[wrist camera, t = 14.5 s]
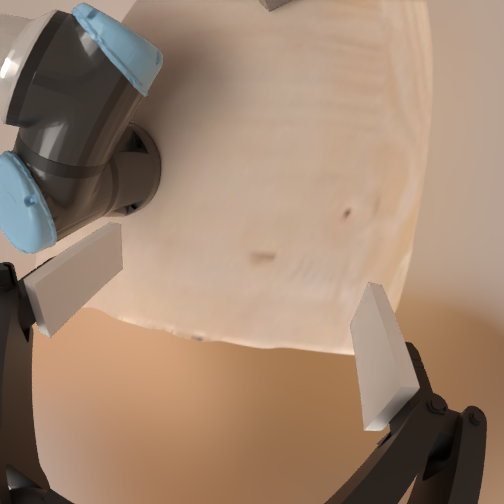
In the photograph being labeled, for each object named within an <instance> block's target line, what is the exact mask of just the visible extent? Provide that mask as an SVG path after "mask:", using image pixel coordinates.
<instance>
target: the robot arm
mask: <svg viewBox="0 0 504 504" xmlns="http://www.w3.org/2000/svg"><path fill="white" fill-rule="evenodd" d="M162 65H163V55H162V53H161V51H160V50H159V49H158V48H157V47H156V46H155V45H153V44H152V43H150V42H149V41H148V40H146V39H145V38H143V37H142V36H140V35H139V34H137V33H136V32H134V31H133V30H131V29H130V28H128V27H127V26H125V25H123V24H122V23H120V22H118V21H117V20H115V19H113V18H112V17H110V16H108V15H106V14H105V13H103V12H101V11H99V10H97V9H95V8H93V7H92V6H90V5H88V4H86V3H81V4H79V5H78V6H77V7H75V8H73V10H72V14H69V13H65V12H62V11H59V10H53V11H51V12H49V13H47V14H45V15H43V16H41V17H39V18H37V19H34V20H31V19H27V18H22V17H18V16H13V15H7V14H2V13H0V118H1V120H2V122H3V124H7V125H13V126H18V127H20V128H19V132H18V135H17V138H16V142H15V145H14V148H13V150H12V151H5V152H3V153H2V154H1V155H0V228H1V230H2V232H3V233H4V235H5V236H6V238H7V239H8V240H9V241H10V243H11V244H12V245H13V246H14V247H15V248H17V249H18V250H20V251H21V252H24V253H31V254H34V253H37V252H39V251H41V250H44V249H46V248H48V247H52V246H54V245H55V243H56V242H58V241H59V240H61V239H63V238H64V237H66V236H68V235H70V234H71V233H73V232H75V231H77V230H78V229H80V228H82V227H84V226H85V225H87V224H89V223H91V222H93V221H95V220H96V219H98V218H100V217H122V216H127V215H130V214H132V213H134V212H136V211H138V210H140V209H141V208H143V207H144V206H145V205H147V204H148V203H149V201H150V200H151V199H152V198H153V196H154V194H155V192H156V190H157V187H158V184H159V180H160V172H161V166H160V158H159V154H158V150H157V148H156V146H155V143H154V142H153V140H152V139H151V137H150V136H149V135H148V134H147V132H145V131H144V130H143V129H142V128H140V127H139V126H137V125H134V124H131V123H129V122H130V120H131V118H132V117H133V115H134V113H135V112H136V110H137V108H138V107H139V105H140V103H141V102H142V100H143V99H144V97H146V96H147V95H148V90H149V88H150V86H151V85H152V83H153V81H154V79H155V78H156V76H157V74H158V73H159V71H160V70H161V68H162ZM122 269H123V263H122V237H121V224H116V223H112V222H110V223H108V224H106V225H105V226H103V227H101V228H100V229H98V230H96V231H95V232H93V233H91V234H90V235H88V236H87V237H85V238H83V239H82V240H80V241H79V242H77V243H76V244H74V245H72V246H71V247H69V248H68V249H66V250H65V251H63V252H62V253H60V254H59V255H57V256H55V257H52V258H50V259H48V260H47V261H45V262H44V263H43V264H42V265H40V266H38V267H37V269H36V268H35V269H34V270H33V271H31V272H30V273H29V274H27V275H26V276H24V277H23V278H21V279H20V280H19V281H18V280H17V276H16V272H15V268H14V265H13V264H12V263H10V262H3V263H0V504H74V503H72V502H71V501H69V500H67V499H66V498H64V497H63V496H61V495H59V494H58V493H56V492H55V491H53V490H52V489H50V486H49V482H48V480H47V478H46V475H45V474H44V472H43V470H42V468H41V467H40V463H39V458H38V453H37V445H36V438H35V430H34V419H33V408H32V407H33V405H32V346H33V328H32V325H33V324H34V323H35V322H36V323H37V326H38V329H39V331H40V332H41V333H42V334H44V335H46V336H48V337H49V338H51V337H52V336H53V335H54V334H55V333H56V332H57V331H58V330H59V329H60V328H61V327H62V326H63V325H64V324H65V323H66V322H67V321H68V320H69V319H70V318H71V317H72V316H73V315H74V314H75V313H76V312H77V311H78V310H79V309H80V308H81V307H82V306H83V305H84V304H85V303H86V302H87V301H88V300H89V299H91V298H92V297H93V296H94V295H95V294H96V293H97V292H98V291H99V290H100V289H101V288H102V287H103V286H104V285H105V284H107V283H108V282H109V281H110V280H111V279H112V278H113V277H114V276H115V275H116V274H118V273H119V272H120V271H121V270H122ZM350 328H351V334H352V340H353V346H354V352H355V358H356V365H357V371H358V379H359V386H360V394H361V403H362V412H363V422H364V430H371V431H382V430H383V429H384V428H385V426H387V425H388V423H389V424H390V432H389V433H388V434H387V435H386V436H385V437H384V438H383V439H382V440H381V441H379V442H378V443H377V444H378V446H377V448H376V449H375V450H374V452H372V454H371V455H370V456H369V457H368V458H367V460H366V461H365V462H364V463H363V464H362V466H360V468H359V469H358V470H357V471H356V472H355V473H354V474H353V475H352V476H351V478H350V479H349V480H348V481H347V482H346V483H345V484H344V485H343V486H342V487H341V488H340V489H339V490H338V491H337V492H336V493H335V494H334V495H333V496H332V497H331V498H330V499H329V500H328V501H326V503H324V504H398V502H399V501H400V499H401V498H402V497H403V495H404V493H405V492H406V491H407V489H408V488H409V486H410V485H411V483H412V482H413V480H414V478H415V477H416V475H417V477H416V480H415V483H414V486H413V489H412V492H411V495H410V497H409V500H408V502H407V504H478V499H479V494H480V489H481V483H482V476H483V468H484V460H485V449H486V431H487V421H486V417H485V415H484V413H483V412H482V411H481V410H480V409H479V408H478V407H476V406H468V407H467V408H466V409H465V410H464V411H463V412H462V413H459V412H456V411H453V410H450V409H448V405H447V403H446V402H445V400H444V399H443V398H442V397H441V396H439V395H437V394H435V393H433V391H432V388H431V385H430V382H429V379H428V377H427V374H426V371H425V369H424V366H423V363H422V362H421V357H420V355H419V352H418V350H417V349H416V348H415V347H414V345H413V344H412V343H409V342H405V341H404V339H403V336H402V333H401V331H400V328H399V325H398V323H397V320H396V318H395V315H394V313H393V310H392V308H391V305H390V303H389V300H388V298H387V296H386V293H385V291H384V289H383V286H382V285H379V284H375V283H370V282H368V285H367V287H366V290H365V292H364V294H363V297H362V299H361V301H360V304H359V306H358V308H357V310H356V313H355V315H354V317H353V319H352V322H351V324H350ZM8 486H10V488H11V490H9V487H8Z"/></svg>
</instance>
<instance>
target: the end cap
mask: <svg viewBox="0 0 504 504" xmlns="http://www.w3.org/2000/svg"><path fill="white" fill-rule="evenodd" d="M259 1H260V2H261V4H262V5H263V6H264V7H265V8H266V9H267V10H268V11H269V12H270V11H271V10H273V9H275V8H277V7H279V6H281V5H283V4H285V3H287V2H289V1H291V0H259Z"/></svg>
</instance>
